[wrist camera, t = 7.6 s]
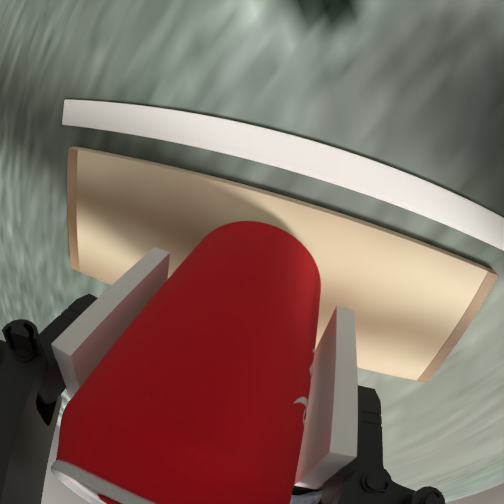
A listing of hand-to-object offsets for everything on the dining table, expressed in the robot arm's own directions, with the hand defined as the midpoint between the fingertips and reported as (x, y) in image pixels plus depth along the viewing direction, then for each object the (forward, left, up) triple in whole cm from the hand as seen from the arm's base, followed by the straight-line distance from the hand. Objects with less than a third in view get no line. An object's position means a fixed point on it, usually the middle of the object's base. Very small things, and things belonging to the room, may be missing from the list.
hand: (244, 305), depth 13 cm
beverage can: (0, 0, -3) cm, 3 cm away
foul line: (-6, 0, -3) cm, 7 cm away
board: (0, 0, -3) cm, 3 cm away
